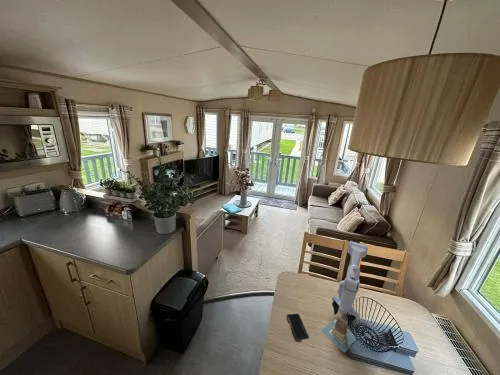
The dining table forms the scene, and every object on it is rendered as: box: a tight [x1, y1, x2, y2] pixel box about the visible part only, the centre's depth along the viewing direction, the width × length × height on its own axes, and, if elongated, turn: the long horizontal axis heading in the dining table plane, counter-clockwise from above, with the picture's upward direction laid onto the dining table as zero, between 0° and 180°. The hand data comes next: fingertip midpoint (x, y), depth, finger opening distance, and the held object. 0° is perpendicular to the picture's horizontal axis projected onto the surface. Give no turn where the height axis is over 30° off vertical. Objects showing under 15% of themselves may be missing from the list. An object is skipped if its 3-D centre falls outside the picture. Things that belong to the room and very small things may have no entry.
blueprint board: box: [320, 318, 349, 354], centre depth 115 cm, size 14×14×1 cm
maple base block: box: [332, 326, 350, 342], centre depth 114 cm, size 6×6×4 cm
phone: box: [286, 313, 310, 342], centre depth 118 cm, size 8×1×15 cm
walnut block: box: [335, 317, 349, 334], centre depth 112 cm, size 4×4×4 cm
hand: (342, 319), depth 112 cm, fingers open, 7 cm apart
